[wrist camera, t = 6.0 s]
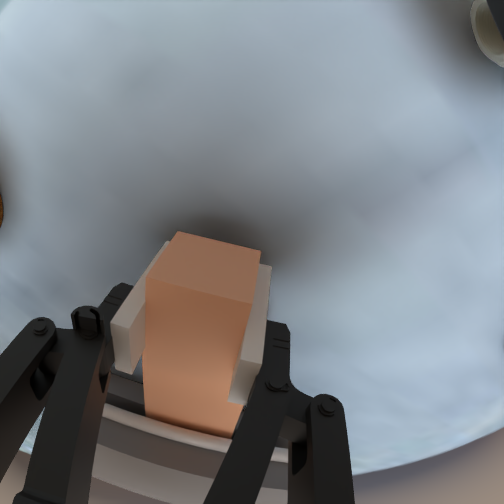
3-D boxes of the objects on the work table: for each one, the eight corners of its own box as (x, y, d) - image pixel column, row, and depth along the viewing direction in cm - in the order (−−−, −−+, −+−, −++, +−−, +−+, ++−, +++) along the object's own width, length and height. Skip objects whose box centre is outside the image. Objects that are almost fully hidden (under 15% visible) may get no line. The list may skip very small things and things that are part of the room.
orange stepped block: (230, 436, 23) (222, 477, 20) (148, 415, 23) (134, 454, 20) (293, 258, 15) (293, 313, 11) (148, 224, 15) (110, 266, 11)
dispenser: (268, 468, 31) (263, 520, 25) (109, 427, 31) (89, 475, 25) (307, 415, 25) (306, 487, 18) (92, 360, 24) (58, 421, 18)
